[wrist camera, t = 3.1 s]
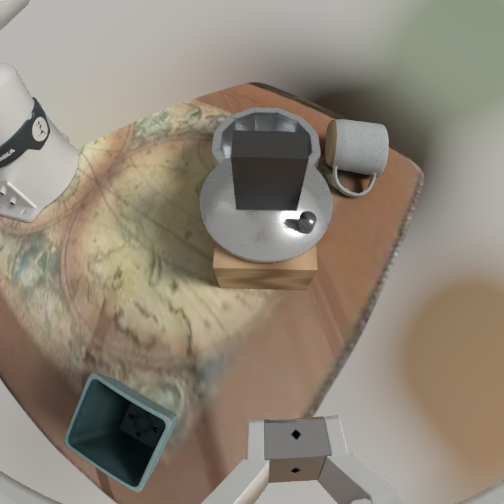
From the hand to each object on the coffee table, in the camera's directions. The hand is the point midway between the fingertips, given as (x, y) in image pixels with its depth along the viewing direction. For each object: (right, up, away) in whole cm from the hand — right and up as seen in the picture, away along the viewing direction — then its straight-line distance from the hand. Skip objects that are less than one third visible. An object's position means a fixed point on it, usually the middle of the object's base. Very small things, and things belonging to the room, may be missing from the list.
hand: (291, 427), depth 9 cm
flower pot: (-14, -14, +20) cm, 28 cm away
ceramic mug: (+13, +18, +33) cm, 40 cm away
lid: (0, +11, +22) cm, 25 cm away
